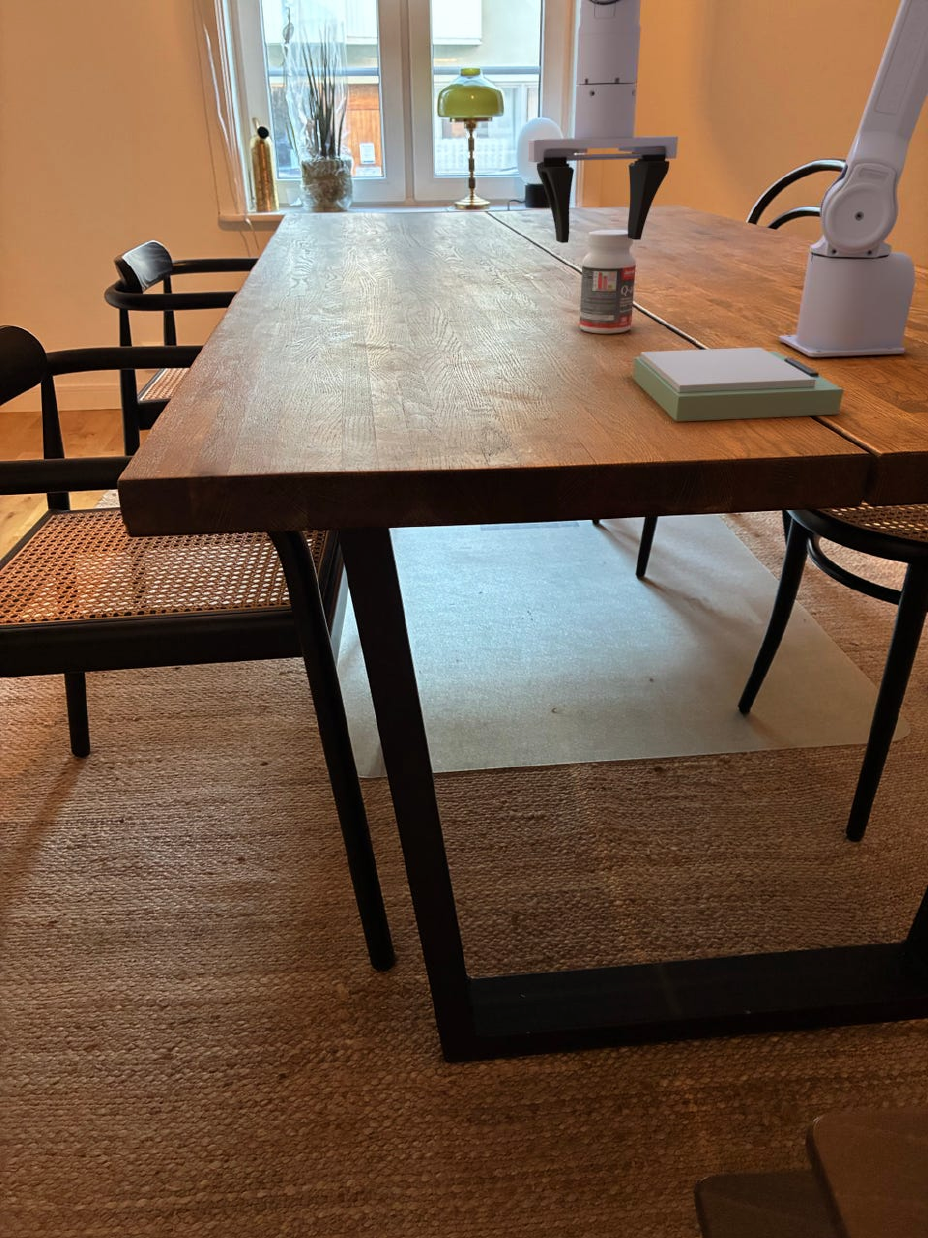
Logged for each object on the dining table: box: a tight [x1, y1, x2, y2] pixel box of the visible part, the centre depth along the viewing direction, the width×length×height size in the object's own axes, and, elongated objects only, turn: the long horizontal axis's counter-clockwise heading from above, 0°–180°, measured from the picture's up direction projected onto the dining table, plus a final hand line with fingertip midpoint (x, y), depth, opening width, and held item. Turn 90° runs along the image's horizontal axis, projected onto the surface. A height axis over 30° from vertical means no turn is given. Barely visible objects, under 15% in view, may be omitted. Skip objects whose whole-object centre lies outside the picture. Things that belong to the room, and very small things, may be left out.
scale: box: [632, 347, 844, 423], centre depth 74 cm, size 13×13×3 cm
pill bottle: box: [579, 229, 636, 335], centre depth 96 cm, size 6×6×10 cm
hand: (598, 240), depth 91 cm, fingers open, 7 cm apart
